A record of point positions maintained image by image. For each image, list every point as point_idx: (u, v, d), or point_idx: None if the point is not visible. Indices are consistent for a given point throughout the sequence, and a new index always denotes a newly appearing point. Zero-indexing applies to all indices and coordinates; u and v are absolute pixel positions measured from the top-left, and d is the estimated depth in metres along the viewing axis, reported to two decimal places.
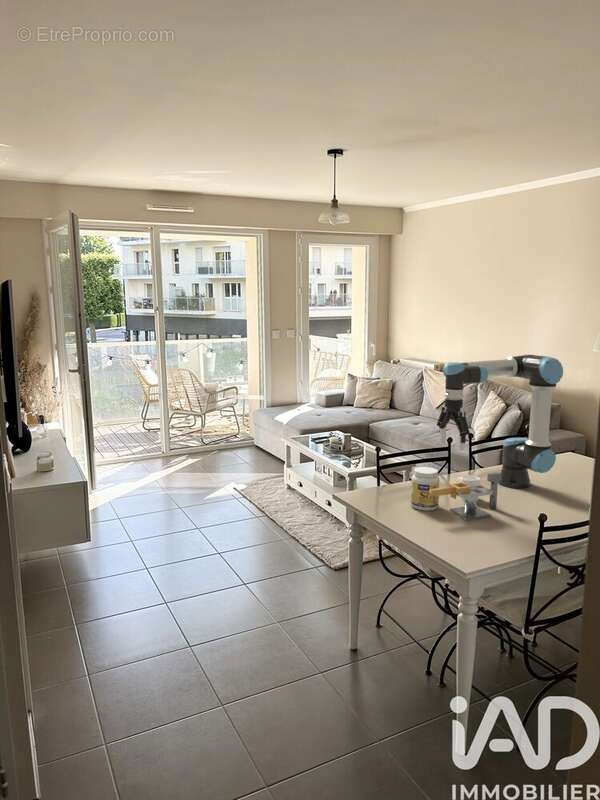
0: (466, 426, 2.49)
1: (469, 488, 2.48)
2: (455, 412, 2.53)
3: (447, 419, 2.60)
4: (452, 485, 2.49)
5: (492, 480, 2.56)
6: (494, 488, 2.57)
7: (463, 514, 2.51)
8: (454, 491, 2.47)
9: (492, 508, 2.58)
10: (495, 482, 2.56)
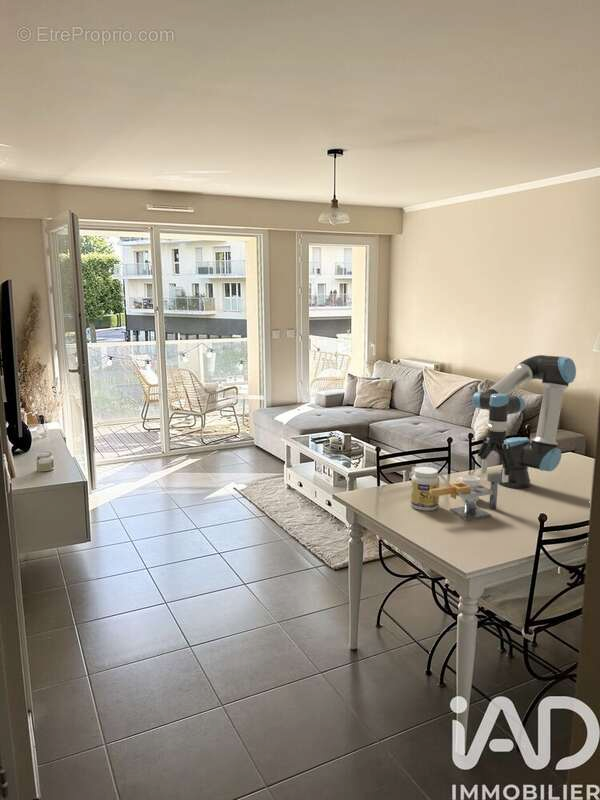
0: (510, 458, 2.47)
1: (469, 488, 2.48)
2: (499, 444, 2.51)
3: (489, 450, 2.58)
4: (452, 485, 2.49)
5: (492, 480, 2.55)
6: (494, 488, 2.57)
7: (463, 514, 2.51)
8: (454, 491, 2.47)
9: (492, 508, 2.58)
10: (495, 482, 2.56)
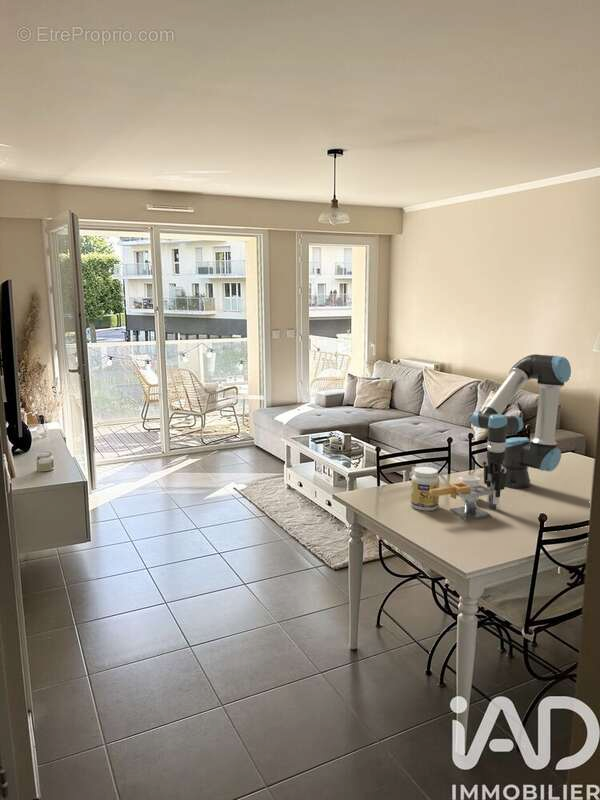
0: (503, 482, 2.53)
1: (469, 488, 2.48)
2: (498, 465, 2.53)
3: None
4: (452, 485, 2.49)
5: (492, 480, 2.56)
6: (494, 488, 2.57)
7: (463, 514, 2.51)
8: (454, 491, 2.47)
9: (492, 508, 2.58)
10: None
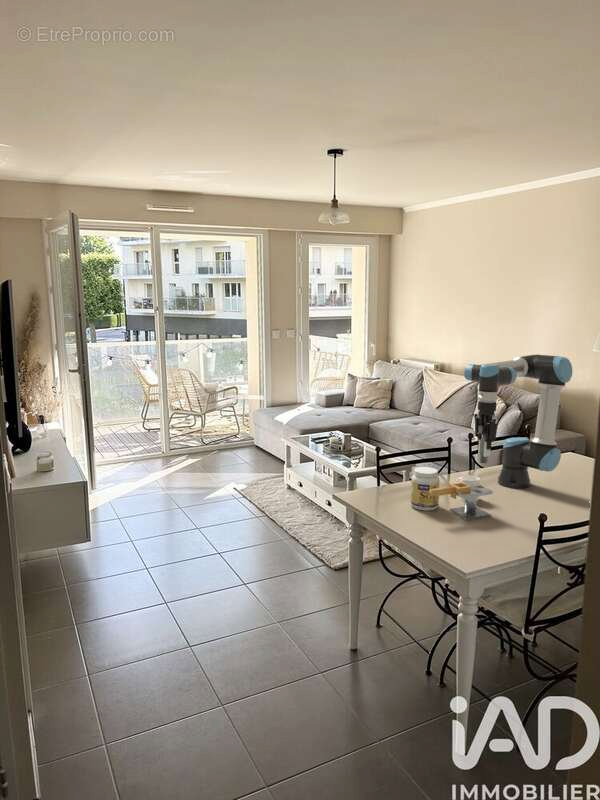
0: (495, 433, 2.46)
1: (469, 488, 2.48)
2: (489, 415, 2.46)
3: None
4: (452, 485, 2.49)
5: (483, 432, 2.49)
6: None
7: (463, 514, 2.51)
8: (454, 491, 2.47)
9: (483, 461, 2.51)
10: None
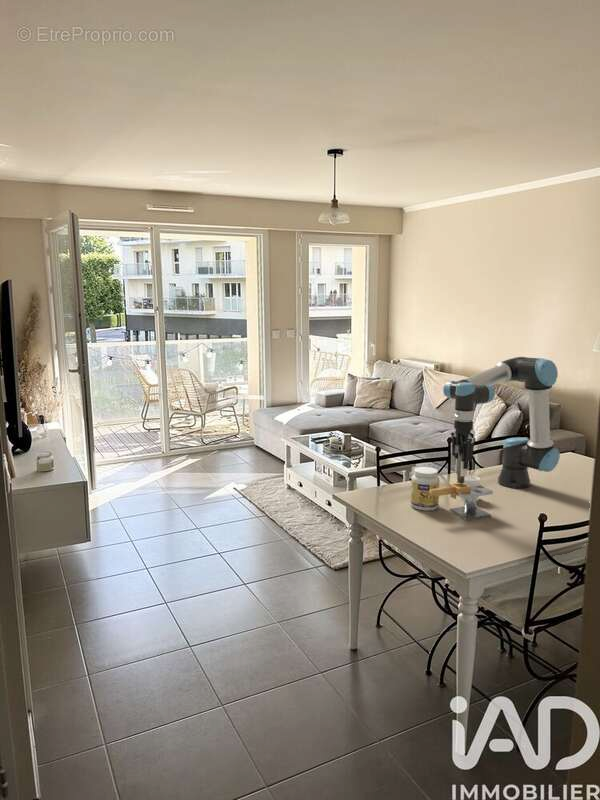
0: (471, 453, 2.42)
1: (469, 488, 2.48)
2: (465, 434, 2.42)
3: (459, 444, 2.47)
4: (452, 485, 2.49)
5: (459, 451, 2.45)
6: None
7: (463, 514, 2.51)
8: (454, 491, 2.47)
9: (460, 481, 2.48)
10: None
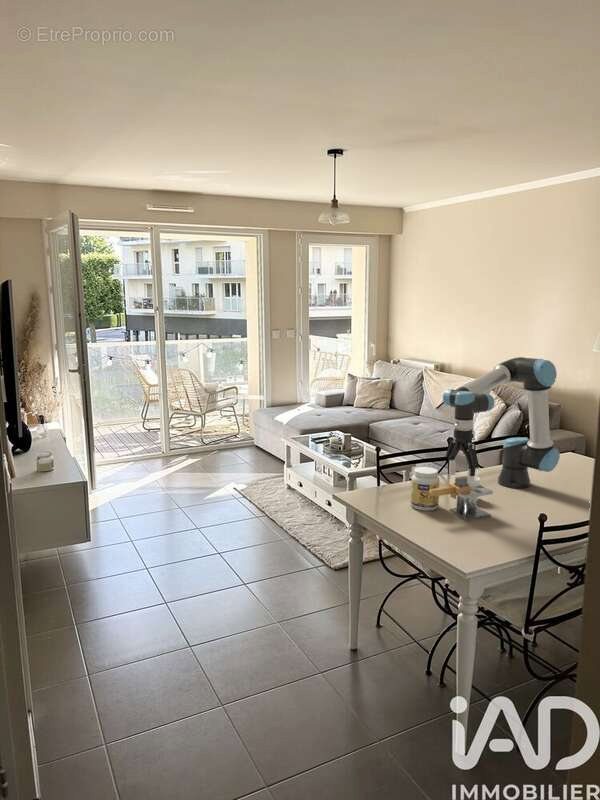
0: (476, 459, 2.40)
1: (469, 488, 2.48)
2: (465, 443, 2.43)
3: (456, 450, 2.50)
4: (452, 485, 2.49)
5: (460, 484, 2.47)
6: None
7: (463, 514, 2.51)
8: (454, 491, 2.47)
9: (459, 513, 2.50)
10: (463, 486, 2.48)
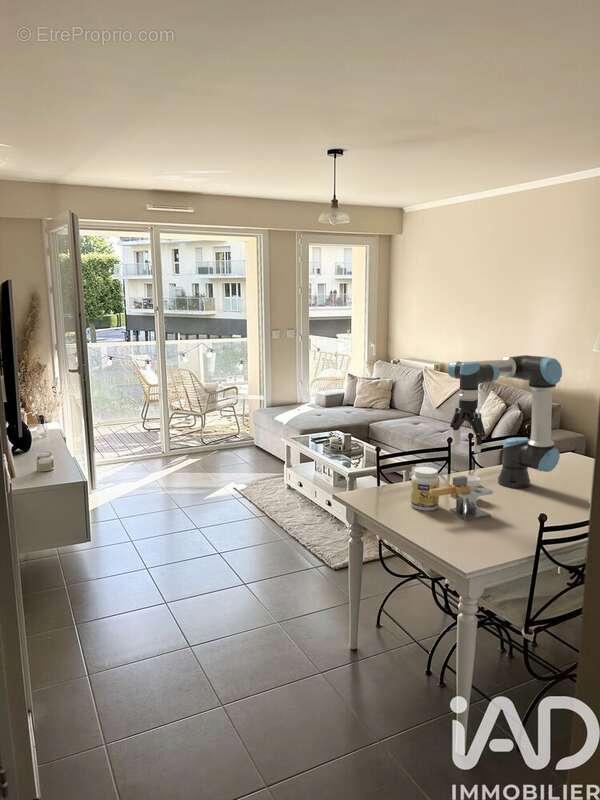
0: (482, 428, 2.40)
1: (469, 488, 2.48)
2: (470, 413, 2.43)
3: (461, 420, 2.50)
4: (452, 485, 2.49)
5: (457, 484, 2.47)
6: None
7: (463, 514, 2.51)
8: (454, 491, 2.47)
9: (459, 513, 2.50)
10: (461, 486, 2.48)
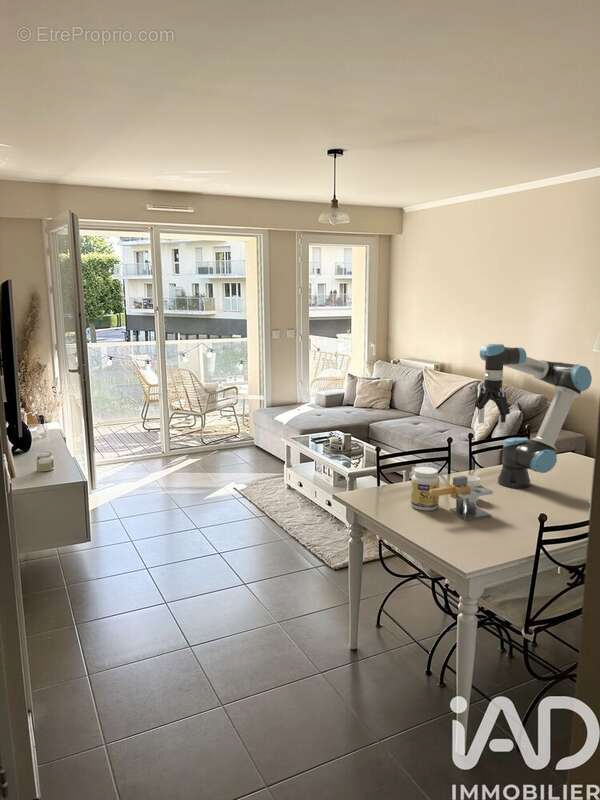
0: (506, 406, 2.55)
1: (469, 488, 2.48)
2: (495, 392, 2.59)
3: (486, 400, 2.66)
4: (452, 485, 2.49)
5: (457, 484, 2.47)
6: None
7: (463, 514, 2.51)
8: (454, 491, 2.47)
9: (459, 513, 2.50)
10: (461, 486, 2.48)
